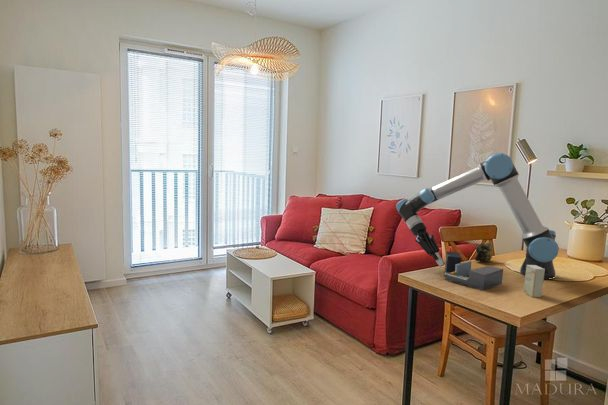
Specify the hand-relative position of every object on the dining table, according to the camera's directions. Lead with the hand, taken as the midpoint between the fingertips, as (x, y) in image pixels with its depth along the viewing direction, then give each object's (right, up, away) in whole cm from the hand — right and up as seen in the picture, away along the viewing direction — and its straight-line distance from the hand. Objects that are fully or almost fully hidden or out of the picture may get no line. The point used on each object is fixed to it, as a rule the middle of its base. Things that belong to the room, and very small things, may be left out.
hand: (442, 265), depth 199 cm
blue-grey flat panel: (+5, -4, -9) cm, 11 cm away
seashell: (+31, -2, +27) cm, 41 cm away
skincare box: (+29, -9, -27) cm, 41 cm away
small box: (+4, -5, -3) cm, 7 cm away
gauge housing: (+10, -6, -12) cm, 16 cm away
